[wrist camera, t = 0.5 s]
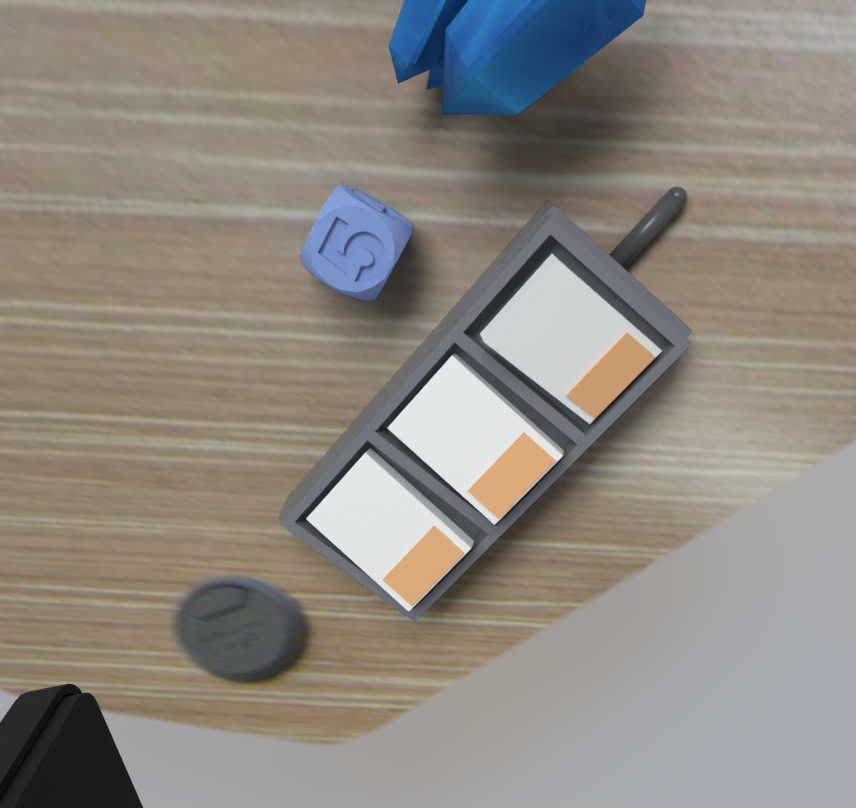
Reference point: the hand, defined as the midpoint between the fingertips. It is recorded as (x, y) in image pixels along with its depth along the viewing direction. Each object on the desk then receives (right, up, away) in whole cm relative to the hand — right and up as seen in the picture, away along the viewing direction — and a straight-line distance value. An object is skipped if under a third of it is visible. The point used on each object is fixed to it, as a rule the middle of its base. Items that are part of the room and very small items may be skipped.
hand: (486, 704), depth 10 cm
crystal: (+3, +21, +26) cm, 34 cm away
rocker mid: (+2, +2, +29) cm, 29 cm away
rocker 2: (+6, +7, +27) cm, 29 cm away
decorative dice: (-4, +12, +30) cm, 33 cm away
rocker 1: (-3, -3, +31) cm, 31 cm away
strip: (+3, +5, +32) cm, 32 cm away
